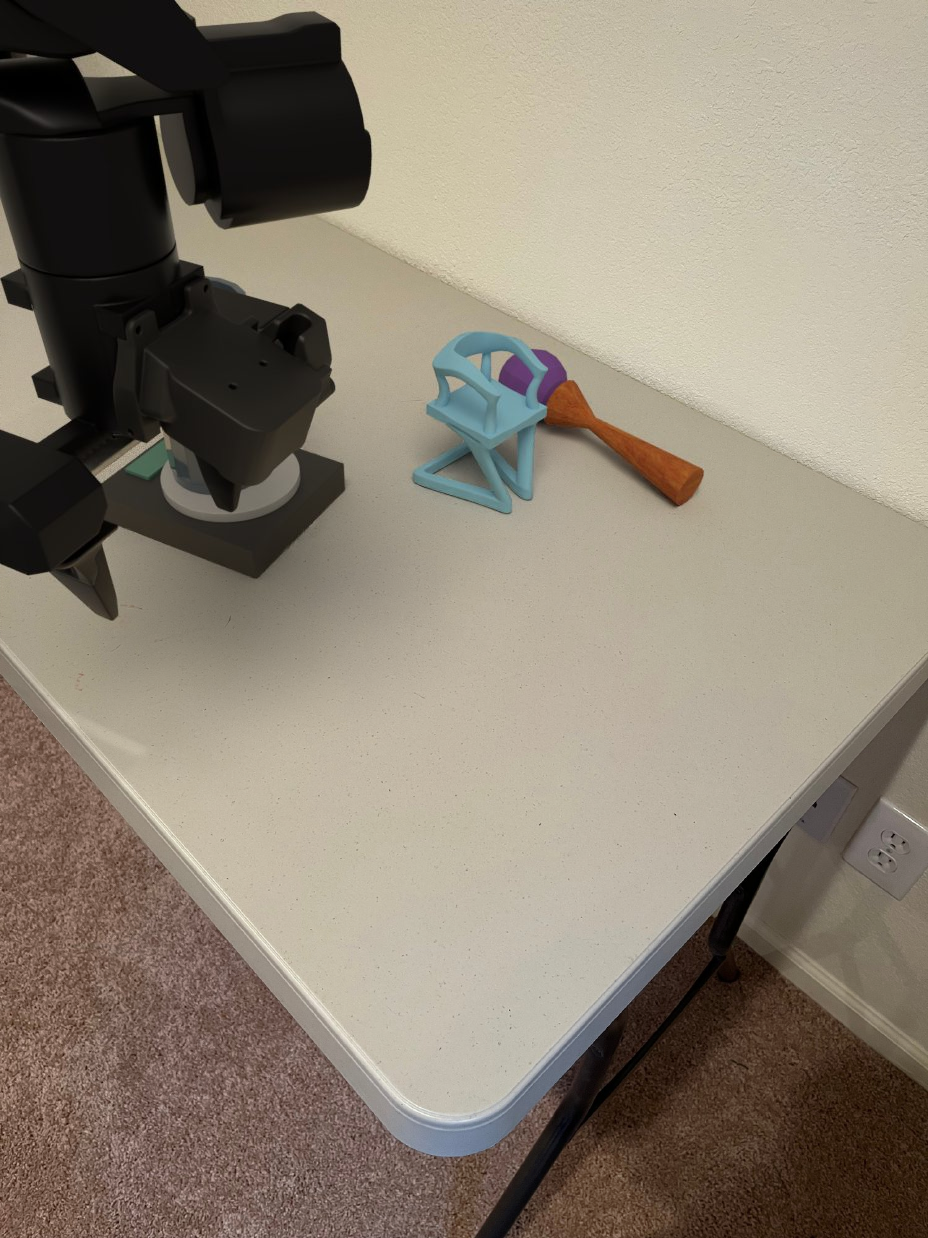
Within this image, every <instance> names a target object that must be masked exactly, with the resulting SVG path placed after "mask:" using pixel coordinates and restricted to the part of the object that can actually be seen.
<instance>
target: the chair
mask: <svg viewBox="0 0 928 1238" xmlns="http://www.w3.org/2000/svg"><path fill="white" fill-rule="evenodd" d="M531 349H532V348H530V347H529V345H528V344H527V343H526V342H525V341H523V340H522V339H519V338H518V337H514V336H510V335H506V334H502V333H498V332H492V331H485V330H484V331H482V330H474V331H466V332H464V333H460V334H458V335H457V336H455V337H454V338H453V339H451V340H450V341H449V342H448V343H446V345H444V347H443V348H441V350H439V352H438V353H437V354H436V355H435V356H434V358H433V360H432V363H431V365H432V369H433V372H434V375H435V378H436V381H437V385H438V394H437V397H436V398H435V399H433V400H431V401H429V402H427V403H426V405H425V408H426V409H425V415H427V416H429V417H430V418H433V419H434V420H436V421H438V422H440V423H443V424H444V425H445V426H447V427H448V428H449V429H450V430H451V431H452V432H454V433H455V434H456V435H457V436H458V437H459V438H460V439H461V440H462V441H463V442H461V443H459V444H458V445H456V446H454V447H452V448H450V449H448V450H447V451H445V452H444V453H442V454H440V455H438V456H436V457H435V458H433V459H430V460H429V461H428V462H426V463H424V464H422V465H421V466H419V467H418V468H416V469H414V470H413V472H412V481H413V482H414V483H415V484H417V485H419V486H421V487H425V488H428V489H429V490H434V491H436V492H440V493H443V494H446V495H449V496H452V497H455V498H459V499H463V500H465V501H469V502H473V503H476V504H479V505H482V506H485V507H487V508H490V509H492V510H495V511H498V512H501V513H503V514H510V513H511V512H512V511H513V504H512V503H513V502H512V501H513V499H512V497H511V494H509V492H508V490H507V488H506V486H508V487H509V488H510V489H511V490H512V491H513V492H514V493H515V494H516V495H517V496H519V497H520V498H521V499H523V500H527V501H529V500H531V499H533V496H534V495H533V494H534V493H533V491H534V490H533V489H534V487H533V486H534V485H533V484H534V483H533V482H534V455H535V453H534V451H535V439H536V438H535V436H536V429H537V424H538V422H540V421H542V420H544V418H545V417H546V414H547V406H545V405H543V404H541V403H539V402H538V400H537V391H538V388H539V385H540V383H541V381H542V379H543V377H544V376H545V374H546V372H547V370H548V368H547V367H546V366H545V365H543V364H542V363H541V362H540V361H539V360H538V358H537V357H536V356H535V354H534V353H533V352H532V350H531ZM496 352H508V353H510V354H513V355H514V354H515V355H516V356H517V357H519V358H520V359H521V360H522V361H523V362H524V364H525V365H526V366H527V367H528V368H529V370H530V371H531V373H532V374H533V375H534V378H533V380H532V381H531V383H530V385H529V387H528V389H527V392H526V397H525V396H523V395H521V394H519V393H517V392H515V391H513V390H511V389H509V388H507V387H506V386H504V385H503V384H501V383H499V382H498V380H497V379H494V378H492V353H496ZM480 354H481V363H480V369H479V368H478V367H477V366H476V364H474V363H473V362H472V361H471V360H470V359H468V358H469V357H472V356H474V355H480ZM447 377H450V378H455V379H458V380H461V381H462V382H463V383H465V384H464V385H462V386H461V387H459V388H456V389H455V390H453V391H451V387H450V384H449V382H448V380H447ZM515 434H516V440H517V441H516V443H517V446H516V447H517V456H516V457H517V460H516V461H517V464H516V465H517V467H516V470H515V469H514V468H513V467H512V466H511V464H509V463H508V461H506V460H505V458H503V456H502V455H501V454H500V453H499V452H498V451H497V450H496V449H495V448H496V447H497V446H499V445H501V444H503V443H504V442H505V441H506V440H508V439H509V438H511V437H512V436H513V435H515ZM469 453H472V455H473V457H474V459H475V460H476V462H477V464H478V466H479V468H480V469H481V471H482V474H483V476H484V477H485V479H486V481H487V483H488V485H489V488H490V489H488V488H484V487H481V486H477V485H473V484H470V483H466V482H462V481H459V480H455V479H451V478H448V477H445V476H441V475H437V474H435V473H436V472H438V471H440V470H441V469H444V468H445V467H446V466H448V465H450V464H452V463H453V462H456V461H457V460H458V459H460V458H462V457H463V456H466V455H468V454H469ZM504 483H505V484H506V486H505V484H504Z"/></svg>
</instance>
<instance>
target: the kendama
mask: <svg viewBox="0 0 928 1238" xmlns="http://www.w3.org/2000/svg"><path fill="white" fill-rule="evenodd" d="M530 349H531V350H532V352H533V353H534V354H535V356H536V357H537V358H538V360H539V361H540V362H541V363H542V364H543V365H545V366H546V367H547V368H548V370H547V372H546V374H545V376H544V377H543V379H542V381H541V383H540V385H539V388H538V391H537V400H538V402H539V403H541V404H543V405H545V406H547V414H546V417H545V418H543V421H544V423H545V424H546V425H547V426H556V427H564V428H565V427H566V428H577V429H585V430H589V431H590V432H591V433H592V434H594V435H595V436H596V437H597V438H598V439H600V441H601V442H603V443H604V444H605V445H607V447H609V448H610V449H611V450H612V451H614V452H615V453H616V454H617V455H618V456H620V457H621V459H623V460H624V461H625V462H627V463H628V464H629V465H630V466H631V467H632V468H634V469H635V470H636V471H637V472H638V473H640V474H641V475H642V476H643V477H644V478H645V479H647V481H649V482H650V483H652V485H654V486H655V487H656V488H657V489H659V491H660V492H662V493H663V494H664V495H666V496H667V497H668V498H669V499H670V500H671V501H672V502H674V503H675V504H676V505H677V506H682V505H684V504H685V503H687V502H688V501H689V500H690V499H691V498H692V497H693V496H694V495H695V493H696V492H697V490H698V489H699V487H700V485H701V484H702V481H703V479H704V475H705V470H704V469H703V467H700V466H698V465H696V464H693V463H692V462H690V461H688V460H686V459H683V458H681V457H679V456H677V455H675V454H673V453H671V452H668V451H667V450H664V449H662V448H660V447H658V446H657V445H654V444H652V443H650V442H648V441H646V440H644V439H642V438H640V437H637V436H635V435H633V434H631V433H629V432H627V431H625V430H623V429H621V428H619V427H616V426H615V425H613V424H610V423H608V422H607V421H604V420H602V419H600V418H598V417H596V415H595V414H594V412H593V410H592V408H591V407H590V404H589V403H588V401H587V399H586V398H585V395H584V394H583V392H582V390H581V389H580V387H579V384H578V383H577V382H576V381H575V380H574V379H568V372H567V370H566V369H565V367H564V365H563V364H562V362H561V361H560V360H559V358H558V357H557V355H554V354H553V353H551V352H549V350H546V349H539V348H538V349H537V348H530ZM533 378H534V375H533V374H532V373H531V371H530V370H529V368H528V367H527V366H526V365H525V364H524V362H523V361H522V360H521V359H520V358H519V357H517V356H516V355H515V354H513V355H511V356H510V357H508V358H507V360H506V361H505V363H504V364H503V365H502V366H501V369H500V371H499V374H498V380H497V381H498V382H499V383H501V384H503V385H504V386H506V387H507V388H509V389H511V390H513V391H515V392H517V393H519V394H521V395H523V396H525V397H526V392H527V389H528V387H529V385H530V383H531V381H532V380H533Z"/></svg>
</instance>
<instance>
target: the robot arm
mask: <svg viewBox="0 0 928 1238" xmlns="http://www.w3.org/2000/svg"><path fill="white" fill-rule="evenodd" d="M0 51H2V52H8V53H13V54H15V53H16V54H21V55H28V57H17V58H3V59H0V202H1V205H2V210H3V211H4V215H5V219H6V222H7V226H8V229H9V232H10V236H11V238H12V242H13V245H14V249H15V252H16V256H17V260H18V263H19V266H20V267H19V268H18V269H16V270H14V271H11V272H10V273H8V274H6V275H3V276H2V277H1V276H0V283H1V286H2V290H3V292H4V296H5V299H6V301H7V304H8V305H11V306H14V307H17V308H21V309H24V310H27V311H31V312H33V314H34V318H35V320H36V324H37V327H38V330H39V334H40V338H41V340H42V343H43V347H44V350H45V353H46V357H47V360H48V364H49V365H47V366H45V367H43V368H42V369H40V370H38V371H37V372H35V373H34V374H31V375H30V377H31V380H32V384H33V388H34V390H35V393H36V396H37V398H38V399H41V400H44V401H47V402H49V403H53V404H55V405H58V406H61V407H62V408H63V411H64V414H65V416H66V417H67V418H68V419H69V420H70V421H68V422H66V423H64V424H63V425H62V426H60V427H59V428H57V429H56V430H55V431H53V432H52V433H50V434H49V435H47V436H46V437H44V438H42V439H40V441H37V442H36V441H34V440H30V439H28V438H26V437H23V436H19V435H17V434H14V433H11V432H9V431H6V430H4V429H0V565H2V566H3V567H7V568H9V569H10V570H14V571H16V572H18V573H20V574H23V575H24V576H25V575H26V576H33V575H35V576H36V575H39V574H40V575H41V574H45V573H49V574H50V575H52V576H53V577H54V578H55V579H56V580H57V581H58V582H59V583H60V584H62V585H63V586H64V587H65V589H67V590H68V591H69V592H71V594H72V595H74V596H75V597H76V598H77V599H78V600H79V601H80V602H82V603H83V604H84V605H85V606H86V607H87V608H88V609H90V611H92V612H93V613H94V614H95V615H97V616H99V617H101V618H103V619H105V620H108V621H111V622H113V621H115V620H117V618H118V617H119V605H118V596H117V593H116V588H115V585H114V582H113V578H112V575H111V571H110V567H109V564H108V561H107V557H106V553H105V550H104V547H103V542H104V541H105V540H107V539H108V538H109V537H111V535H113V534H114V533H115V532H117V531H118V529H119V525H116V524H114V523H111V522H109V521H106V520H104V517H105V514H106V511H107V508H108V504H107V500H106V497H105V493H104V490H103V486H102V484H101V483H102V482H101V481H100V480H99V479H98V478H97V476H98V475H99V474H101V472H103V471H104V470H105V469H107V468H109V466H111V465H112V464H114V463H115V462H116V461H118V460H119V459H121V458H122V457H123V456H124V455H125V454H127V453H129V452H130V451H132V449H134V448H136V447H137V446H138V445H140V444H141V443H144V444H148V443H149V442H150V441H152V440H153V439H155V438H157V436H158V435H160V434H161V433H162V432H163V431H164V432H165V433H166V434H167V435H168V436H169V437H171V438H172V439H174V440H175V441H177V442H178V443H180V444H181V445H183V446H184V447H186V448H187V449H189V450H190V451H192V452H193V453H194V455H195V458H196V460H197V463H198V466H199V469H200V471H201V474H202V477H203V479H204V482H205V484H206V486H207V488H208V490H209V493H210V495H211V497H212V499H213V501H214V503H215V505H216V506H217V507H218V508H219V509H222V510H224V511H227V512H230V513H231V512H234V511H235V510H236V509H237V507H238V502H239V498H240V494H241V489H242V486H255V485H258V484H260V483H262V482H263V481H264V480H266V479H267V478H268V477H269V476H270V474H271V473H272V471H273V470H274V469H275V468H276V467H277V466H278V465H280V464H281V463H282V462H283V461H284V460H285V459H286V458H287V457H288V456H290V455H291V454H292V453H293V452H294V451H298V450H299V449H302V447H303V446H304V445H305V443H306V441H307V438H308V436H309V432H310V429H311V425H312V422H313V419H314V416H315V413H316V410H317V408H319V407H320V405H322V404H323V403H324V402H325V401H326V400H328V399H329V398H330V397H331V396H332V395H333V394H334V393H335V391H336V383H335V381H334V380H333V378H332V377H331V376H332V375H331V374H332V371H333V368H332V367H331V366H332V362H333V354H332V350H331V349H332V347H331V344H330V343H331V342H330V337H329V331H328V326H327V325H328V324H327V320H326V319H325V318H324V317H322V316H321V315H319V314H318V313H317V312H315V311H313V310H312V309H310V308H309V307H307V306H306V305H304V304H303V303H299V302H297V303H296V304H294V305H293V306H291V307H289V306H286V305H283V304H279V303H276V302H273V301H268V300H265V299H263V298H258V297H255V296H251V295H248V294H246V295H244V294H241V293H237V292H234V291H230V290H226V289H223V288H219V287H216V286H213V287H212V283H211V281H210V280H209V279H208V278H205V276H206V274H205V266H204V265H201V264H197V263H194V262H191V261H187V260H184V259H180V256H179V251H178V246H177V245H178V244H177V239H176V233H175V230H174V224H173V217H172V212H171V211H172V210H171V206H170V205H171V204H170V200H169V194H168V189H167V188H168V187H167V183H166V177H165V171H164V166H163V159H162V154H161V147H160V143H159V136H158V131H157V130H158V129H157V124H156V119H155V117H158V120H159V130H160V135H161V136H160V137H161V142H162V147H163V151H164V155H165V159H166V162H167V166H168V169H169V172H170V175H171V178H172V180H173V183H174V185H175V189H176V190H177V192H178V194H179V196H180V199H182V201H183V202H184V203H185V205H187V206H190V207H192V206H198V205H204V207H205V209H206V211H207V213H208V215H209V216H210V218H211V219H212V221H213V223H214V224H215V226H217V227H218V228H219V229H222V230H225V231H226V230H231V229H236V228H243V227H248V226H255V225H260V224H267V223H272V222H279V221H285V220H291V219H297V218H301V217H308V216H313V215H319V214H325V213H326V214H327V213H332V212H337V211H344V210H350V209H355V208H357V207H360V205H361V204H362V203H363V202H364V200H365V199H366V197H367V193H368V191H369V187H370V182H371V177H372V165H373V163H372V162H373V148H372V137H371V134H370V132H369V130H367V129H366V127H365V120H364V114H363V110H362V107H361V102H360V98H359V95H358V91H357V89H356V86H355V83H354V80H353V77H352V76H351V73H350V72H349V70H348V68H347V66H346V64H345V61H344V60H343V57H342V30H341V27H340V26H339V25H338V23H336V22H335V21H333V20H332V19H330V18H328V17H326V16H324V15H322V14H321V13H319V12H317V11H315V10H310V11H309V10H308V11H297V12H295V11H294V12H289V13H283V14H280V15H279V16H276V17H274V18H271V19H267V20H263V21H262V20H261V21H249V22H238V23H237V22H236V23H235V22H234V23H222V24H209V25H197V20H196V17H195V16H193V15H191V14H190V13H188V12H187V11H186V10H185V9H183V8H182V7H181V6H180V5H179V3H178V2H177V1H176V0H0ZM96 53H98V54H99V55H101V56H102V57H104V58H106V59H108V60H110V61H111V62H113V63H115V64H117V65H118V66H121V67H122V68H123V69H125V70H126V71H128V72H130V73H132V74H133V75H124V76H83V74H82V72H81V70H80V68H79V67H78V65H77V64H76V62H75V61H74V60H73V59H77V58H78V59H79V58H82V57H87V56H90V55H94V54H96ZM162 429H163V431H161V430H162Z"/></svg>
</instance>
